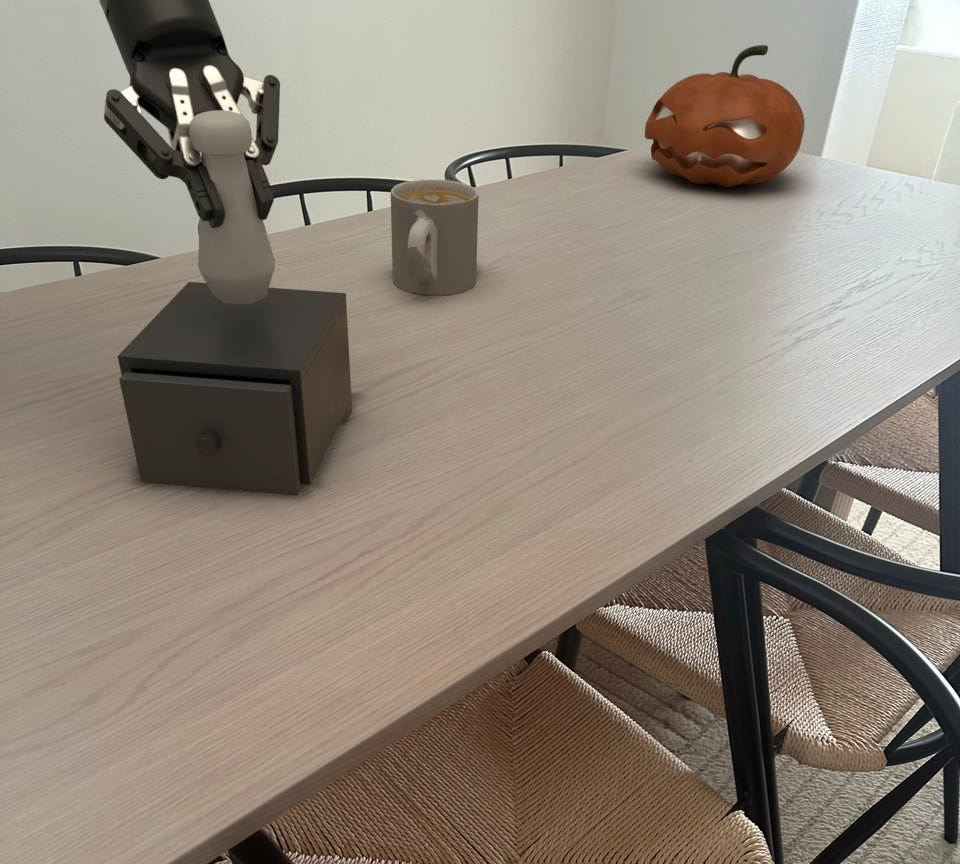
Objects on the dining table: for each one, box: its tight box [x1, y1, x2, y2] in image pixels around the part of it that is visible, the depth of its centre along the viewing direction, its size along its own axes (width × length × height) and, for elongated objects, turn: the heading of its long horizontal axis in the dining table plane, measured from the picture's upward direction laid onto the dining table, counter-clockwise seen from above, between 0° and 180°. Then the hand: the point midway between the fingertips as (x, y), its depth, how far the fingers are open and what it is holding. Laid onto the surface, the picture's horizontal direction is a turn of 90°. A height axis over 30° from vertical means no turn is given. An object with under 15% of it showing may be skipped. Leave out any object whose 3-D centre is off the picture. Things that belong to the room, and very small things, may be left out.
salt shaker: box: [189, 110, 276, 304], centre depth 74 cm, size 6×6×13 cm
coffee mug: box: [390, 179, 480, 297], centre depth 113 cm, size 13×10×10 cm
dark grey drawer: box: [118, 369, 302, 496], centre depth 80 cm, size 16×13×9 cm
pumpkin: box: [644, 44, 806, 188], centre depth 151 cm, size 25×25×19 cm
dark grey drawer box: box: [117, 281, 353, 486], centre depth 82 cm, size 16×14×11 cm
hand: (241, 217), depth 73 cm, fingers closed on salt shaker, 3 cm apart
